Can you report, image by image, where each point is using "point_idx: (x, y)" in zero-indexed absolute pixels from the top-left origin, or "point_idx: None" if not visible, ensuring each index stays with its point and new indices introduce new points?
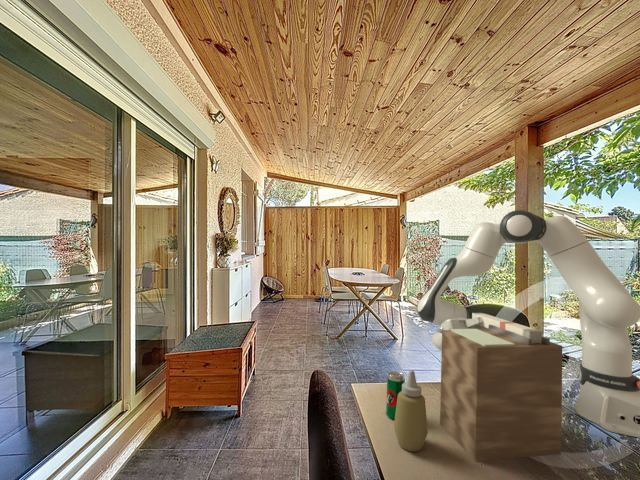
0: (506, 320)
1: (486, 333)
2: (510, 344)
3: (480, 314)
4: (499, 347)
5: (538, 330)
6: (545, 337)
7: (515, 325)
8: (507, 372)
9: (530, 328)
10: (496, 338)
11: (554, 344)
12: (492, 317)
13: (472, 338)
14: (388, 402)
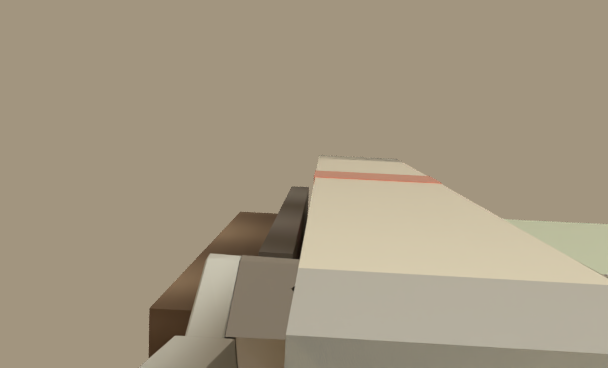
0: (321, 183)
1: (603, 267)
2: (524, 221)
3: (506, 270)
4: None
5: (326, 156)
6: (295, 188)
7: (382, 169)
8: None
9: (338, 159)
10: (564, 240)
11: (258, 216)
12: (391, 210)
13: None
14: None
